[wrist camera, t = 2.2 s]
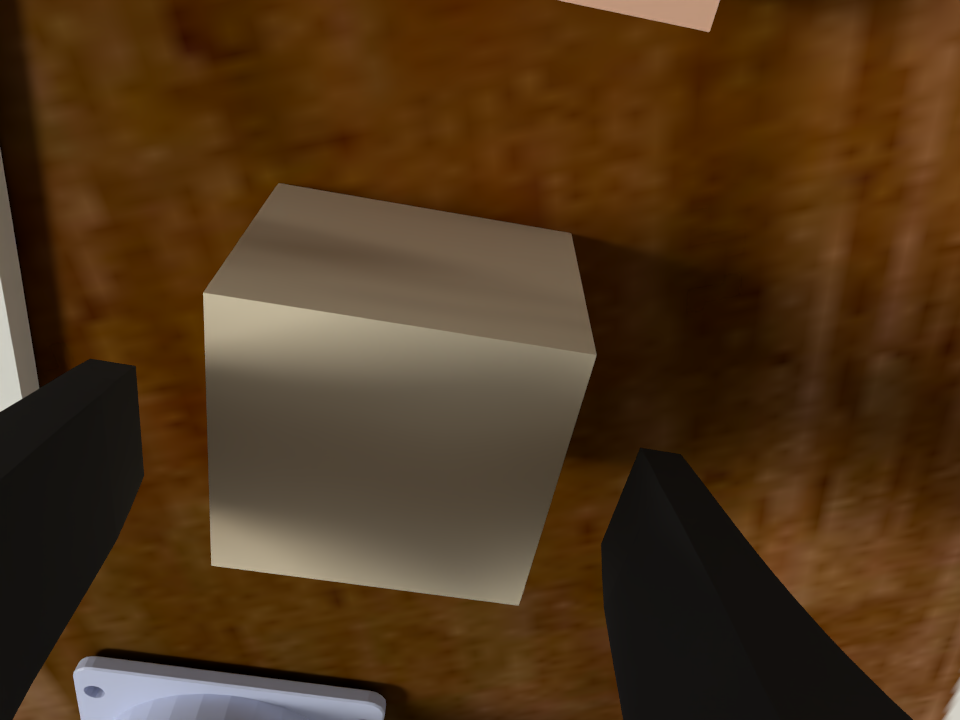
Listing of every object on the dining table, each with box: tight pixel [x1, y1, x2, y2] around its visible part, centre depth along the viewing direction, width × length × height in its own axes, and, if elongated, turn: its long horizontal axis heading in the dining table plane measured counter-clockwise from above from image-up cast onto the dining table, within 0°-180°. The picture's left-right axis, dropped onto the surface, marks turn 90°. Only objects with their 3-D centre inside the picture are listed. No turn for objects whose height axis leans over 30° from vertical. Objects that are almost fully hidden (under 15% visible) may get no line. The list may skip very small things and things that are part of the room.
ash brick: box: [203, 183, 597, 605], centre depth 13 cm, size 5×5×4 cm
